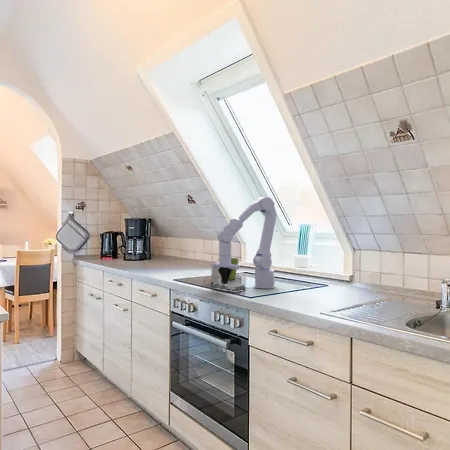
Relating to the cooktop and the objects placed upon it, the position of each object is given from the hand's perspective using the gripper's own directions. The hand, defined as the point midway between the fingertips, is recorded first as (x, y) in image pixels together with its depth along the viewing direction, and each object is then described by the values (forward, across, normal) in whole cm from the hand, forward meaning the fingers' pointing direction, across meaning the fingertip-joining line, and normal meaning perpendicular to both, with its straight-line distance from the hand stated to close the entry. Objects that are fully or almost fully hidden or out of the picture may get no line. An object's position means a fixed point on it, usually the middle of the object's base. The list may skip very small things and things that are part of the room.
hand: (225, 283), depth 198 cm
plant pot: (+3, -18, +26) cm, 32 cm away
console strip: (+3, +2, 0) cm, 4 cm away
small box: (+3, -13, +12) cm, 18 cm away
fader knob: (+1, -2, 0) cm, 3 cm away
